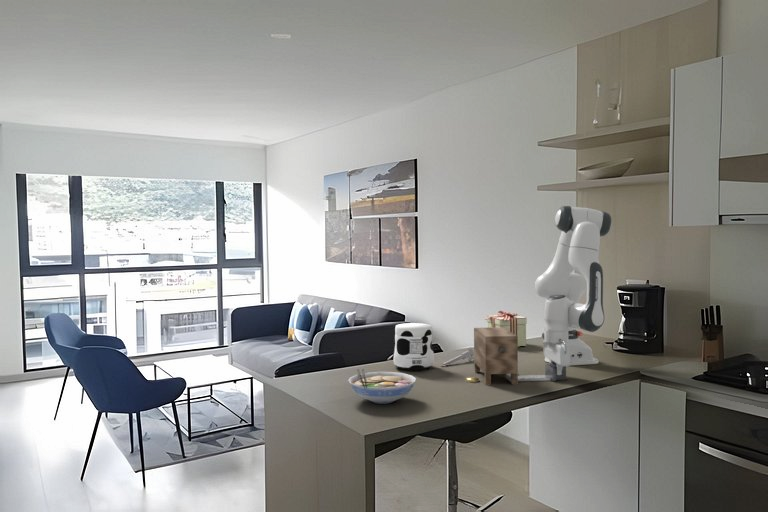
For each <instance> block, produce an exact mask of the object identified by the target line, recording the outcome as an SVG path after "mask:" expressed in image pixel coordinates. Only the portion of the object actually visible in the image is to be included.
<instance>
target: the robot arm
mask: <svg viewBox="0 0 768 512" xmlns="http://www.w3.org/2000/svg"><path fill="white" fill-rule="evenodd" d="M554 220H555V221H554V222H555V226H556V228H557V229H558V230H560V231H561V233H560V235H559V240H558V243H557V247H556V251H555V254H554V257H553V259H552V261H551V262H550V264H549V266H548V267H547V269H546V270H545V271H544V272H543V273H541V275H539V276H538V277H537V278H536V280H535V283H534V289H535V291H536V292H535V293H536V294H537V295H538V296H539V297H540V298H544V299H545V298H546V299H545V304H544V315H543V316H544V323H545V325H544V331H543V332H542V333H541V339H542V348H543V349H542V350H543V355H544V361H545V362H547V363H548V364H550V362H555V363H556V366H557V369H556V374H557V375H561V374H562V368H563V366H566V367H569V366H581V365H584V366H585V365H596V364H597V365H598V364H599V359H597V358H596V357H594V355H593V350H592V348H591V347H590V346H589V345H588V344H586V343H585V342H584V341H583V340H582V339H580V338H579V337H582V336H583V332H582V331H580V330H583V331H587V332H590V333H595V332H596V331H599V329H601V327H602V326H603V325H604V322H605V312H604V311H605V310H604V272H603V271H604V270H603V267H602V266H601V264H600V260H599V256H600V255H599V254H600V244H601V237H605V236H606V235H608V234H609V232H610V230H611V228H612V216H611V214H610V213H608V212H606V211H603V210H598V209H593V208H590V207H589V208H588V207H581V206H570V205H562V206H560V207H559V209H558V211H557V212H556V214H555V218H554ZM573 271H576V272H573ZM585 293H586V302H585V303H580V302H579V301H580V298H581V297H582V296H583V295H584V294H585ZM577 329H580V330H577Z"/></svg>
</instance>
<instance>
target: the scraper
mask: <svg viewBox="0 0 768 512" xmlns="http://www.w3.org/2000/svg"><path fill="white" fill-rule="evenodd" d="M556 369H557V366H556V363H555V362H550V363H545V367H544V370H545V371H544V372H545V374H530V375H529V374H528V375H525V374H523V375H522V374H521V375H519V374H518V382H535V381H536V382H538V381H539V382H542V381H544V382H545V381H548V382H549V381H551V382H553V383H556V381H561V380H562V381H565V380H567V366H563V368H562V374H561V375H557V374H556ZM505 379H506V380H508V381H509V382H510V383H511V374H505Z"/></svg>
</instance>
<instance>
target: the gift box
mask: <svg viewBox="0 0 768 512" xmlns="http://www.w3.org/2000/svg"><path fill="white" fill-rule="evenodd" d="M497 313H499V314H494V315H493V314H492V315H490V314H489V315H486V318H485V319H484V320H485V321H487V328H494V327H503V328H505V329H507V330H508V331H510V332H512V333H513V334H515V335H517V336H518V346H526V347H527V322H528V321H527V320H528V319H527V317H525V316H522V315H518V314H517V313H515V312H514V313H513V312H506V311H503V310H499V311H498V312H497Z"/></svg>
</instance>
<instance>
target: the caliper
mask: <svg viewBox="0 0 768 512" xmlns="http://www.w3.org/2000/svg"><path fill="white" fill-rule="evenodd" d="M467 349H468V350H466V351H463V352H462V353H460V354H459V355H458V356H454V357H453V358H451V359H449V360H448V361H444V362H443V363H442V364H441V365H447V364H450V365H452V364H454V363H456V362H459V361H461V360H466V359H467V360H468V361H469V360H471V359H474V348H473V347H468V348H467ZM471 361H472V360H471Z"/></svg>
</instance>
